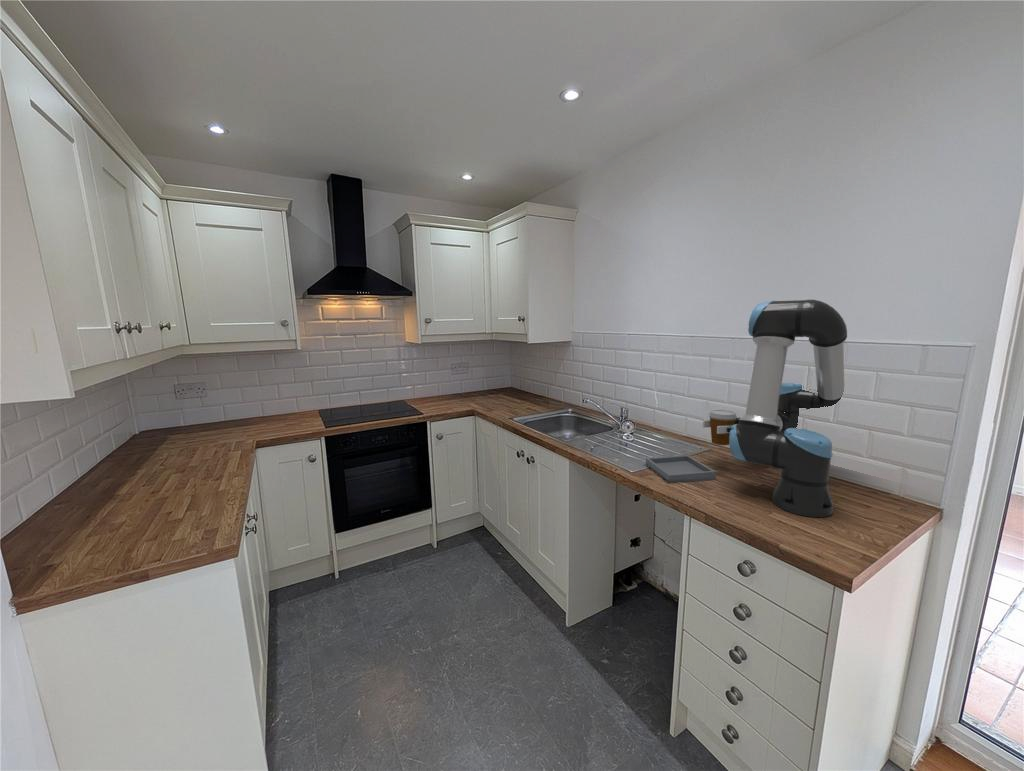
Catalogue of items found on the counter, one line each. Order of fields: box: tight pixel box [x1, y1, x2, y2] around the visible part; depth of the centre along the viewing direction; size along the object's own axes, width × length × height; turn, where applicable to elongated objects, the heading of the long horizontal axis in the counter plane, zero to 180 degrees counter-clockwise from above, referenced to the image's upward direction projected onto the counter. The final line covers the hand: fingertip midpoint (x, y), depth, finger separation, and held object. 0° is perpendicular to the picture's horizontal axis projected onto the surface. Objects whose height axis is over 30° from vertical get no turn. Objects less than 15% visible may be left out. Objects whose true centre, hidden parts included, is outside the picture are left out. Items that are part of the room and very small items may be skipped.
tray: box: [645, 454, 717, 484], centre depth 152 cm, size 18×18×3 cm
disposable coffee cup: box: [708, 409, 738, 446], centre depth 151 cm, size 10×10×12 cm
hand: (710, 426), depth 151 cm, fingers closed on disposable coffee cup, 8 cm apart
